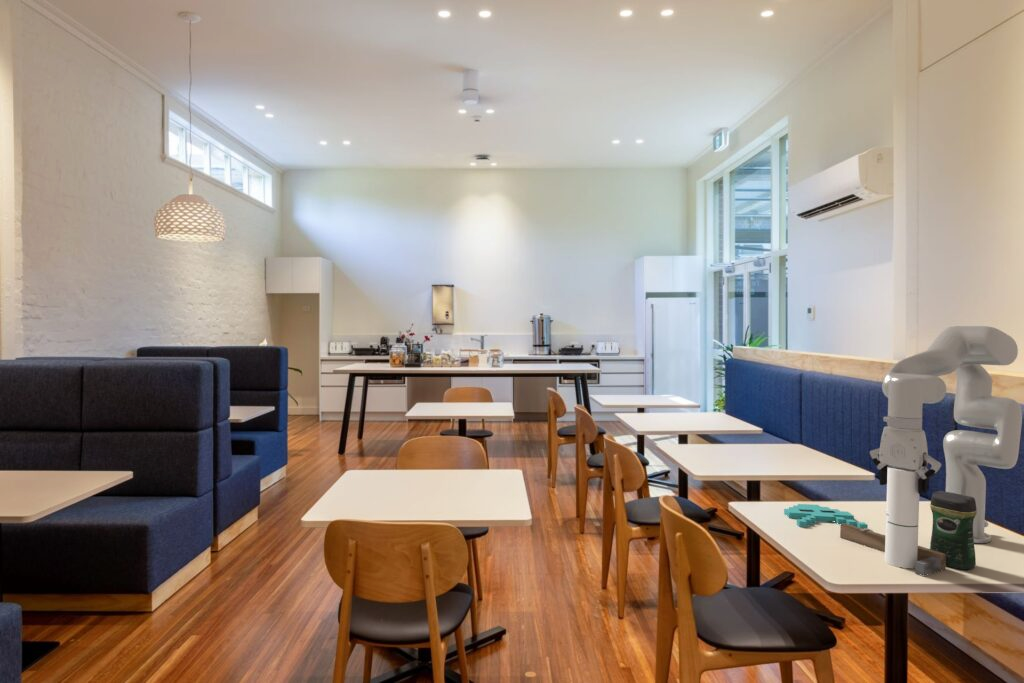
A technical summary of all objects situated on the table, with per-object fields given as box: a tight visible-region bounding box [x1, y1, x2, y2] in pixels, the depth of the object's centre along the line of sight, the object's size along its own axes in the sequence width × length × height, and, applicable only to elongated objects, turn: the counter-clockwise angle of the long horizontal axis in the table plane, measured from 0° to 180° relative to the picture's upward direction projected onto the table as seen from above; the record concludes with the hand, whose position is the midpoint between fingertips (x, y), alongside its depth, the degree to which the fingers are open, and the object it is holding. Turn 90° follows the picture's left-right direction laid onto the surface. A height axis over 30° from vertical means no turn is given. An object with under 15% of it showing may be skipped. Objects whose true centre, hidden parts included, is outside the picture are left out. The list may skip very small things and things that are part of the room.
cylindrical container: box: [884, 466, 921, 569], centre depth 157 cm, size 7×7×25 cm
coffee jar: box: [929, 490, 977, 570], centre depth 158 cm, size 10×8×19 cm
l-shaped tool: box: [839, 523, 947, 576], centre depth 163 cm, size 10×27×4 cm, turn 28°
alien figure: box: [783, 503, 869, 529], centre depth 195 cm, size 20×2×20 cm
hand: (903, 488), depth 157 cm, fingers open, 9 cm apart
